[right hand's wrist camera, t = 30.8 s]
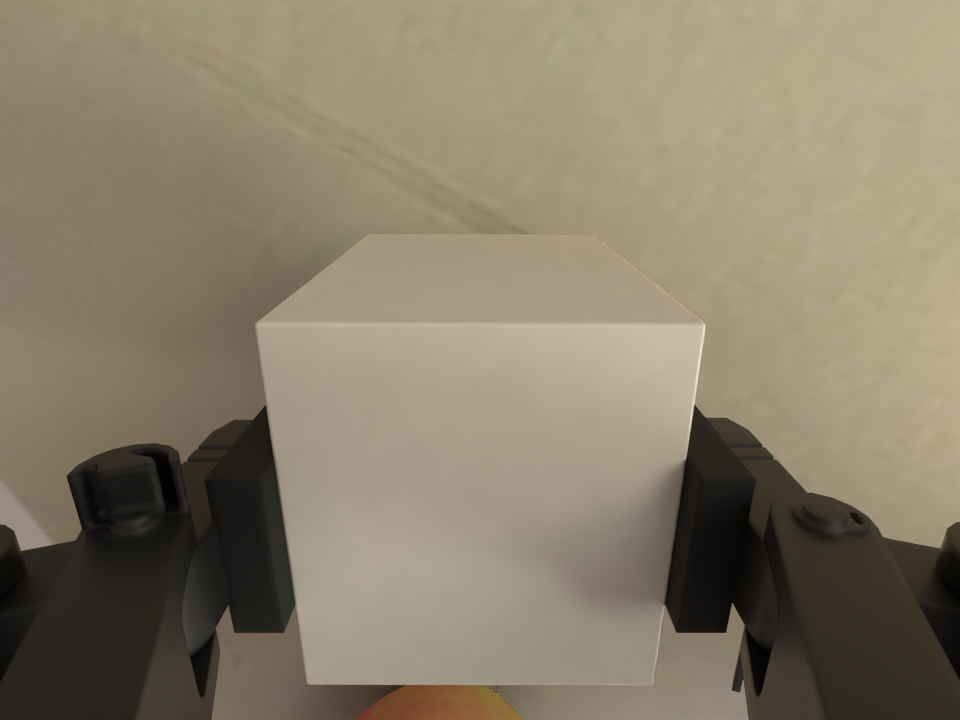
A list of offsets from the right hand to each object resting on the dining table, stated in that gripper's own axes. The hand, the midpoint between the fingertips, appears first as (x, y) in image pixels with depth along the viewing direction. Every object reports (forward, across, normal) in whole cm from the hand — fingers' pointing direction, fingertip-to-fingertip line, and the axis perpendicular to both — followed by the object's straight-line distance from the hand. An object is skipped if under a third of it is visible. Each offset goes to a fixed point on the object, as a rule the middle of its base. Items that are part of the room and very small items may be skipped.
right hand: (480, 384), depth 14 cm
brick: (+2, 0, 0) cm, 2 cm away
